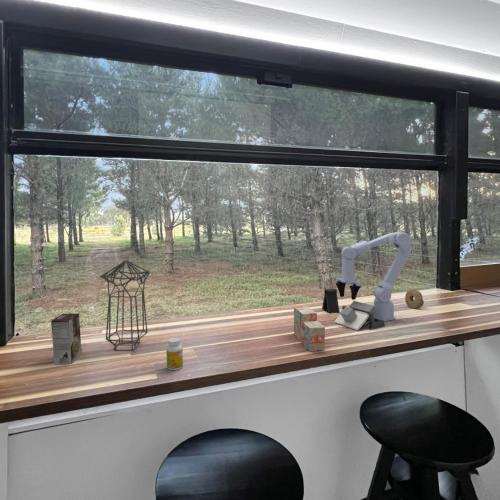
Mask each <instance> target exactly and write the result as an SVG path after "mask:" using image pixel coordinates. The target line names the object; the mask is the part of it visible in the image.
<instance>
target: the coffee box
mask: <svg viewBox="0 0 500 500" xmlns="http://www.w3.org/2000/svg"><path fill="white" fill-rule="evenodd" d="M50 322H51V325H50V327H51V337H52V339H51V341H52V351H53V352H52V353H53V355H52V356H53V365H54V366H55V365H56V366H57V365H72V364H73V363H74V362H75V361H76V360H77V359H78V358H79V357H80V356H81V355H83V352H82V351H83V350H82V340H81V337H82V336H81V324H80V313H61V314H60V315H58V316H57V317H55V318H54V319H52V320H51V321H50Z"/></svg>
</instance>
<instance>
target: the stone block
mask: <svg viewBox="0 0 500 500" xmlns="http://www.w3.org/2000/svg"><path fill="white" fill-rule="evenodd" d="M339 313H340V314H341V316H342V317H343V319H344V321H347V322H350V323H352V322H353V321H354V320H355V319H356V317H357V315H356V313H355V311H354V309H353V308H350V307H349V306H347V307H345V308H344V309H343V310H341V312H339ZM340 314H339V315H340Z"/></svg>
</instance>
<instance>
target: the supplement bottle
mask: <svg viewBox="0 0 500 500" xmlns="http://www.w3.org/2000/svg"><path fill="white" fill-rule="evenodd" d="M167 344H168V345H167V346H166V351H165V352H166V368H167V369H168V370H170V371H177V370H181V369H182V368H183V366H184V361H183V360H184V359H183V358H184V357H183V353H184V352H183V345H182V344H181V338H179V337H171V338H169V339H168V340H167Z"/></svg>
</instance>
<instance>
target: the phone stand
mask: <svg viewBox="0 0 500 500" xmlns="http://www.w3.org/2000/svg"><path fill="white" fill-rule="evenodd" d="M323 293H324V296H323V300H322V307H321V309H322V311H324V312H325V313H328V314H337V313H338V314H339V313H340V307H339V300H338V289H337V288H329V289H324V292H323Z"/></svg>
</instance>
